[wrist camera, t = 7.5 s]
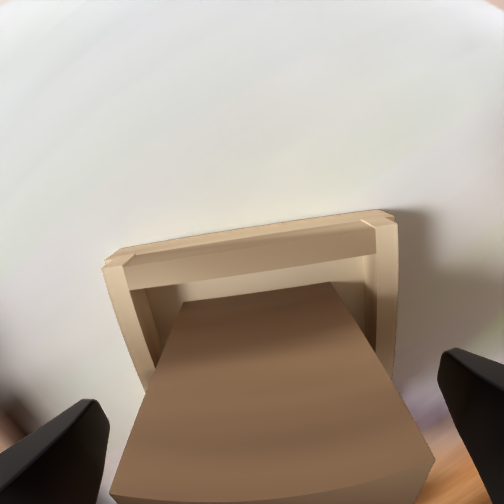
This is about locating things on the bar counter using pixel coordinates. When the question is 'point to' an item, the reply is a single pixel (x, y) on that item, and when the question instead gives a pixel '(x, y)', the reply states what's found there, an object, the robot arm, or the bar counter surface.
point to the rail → (258, 276)
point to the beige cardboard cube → (271, 410)
